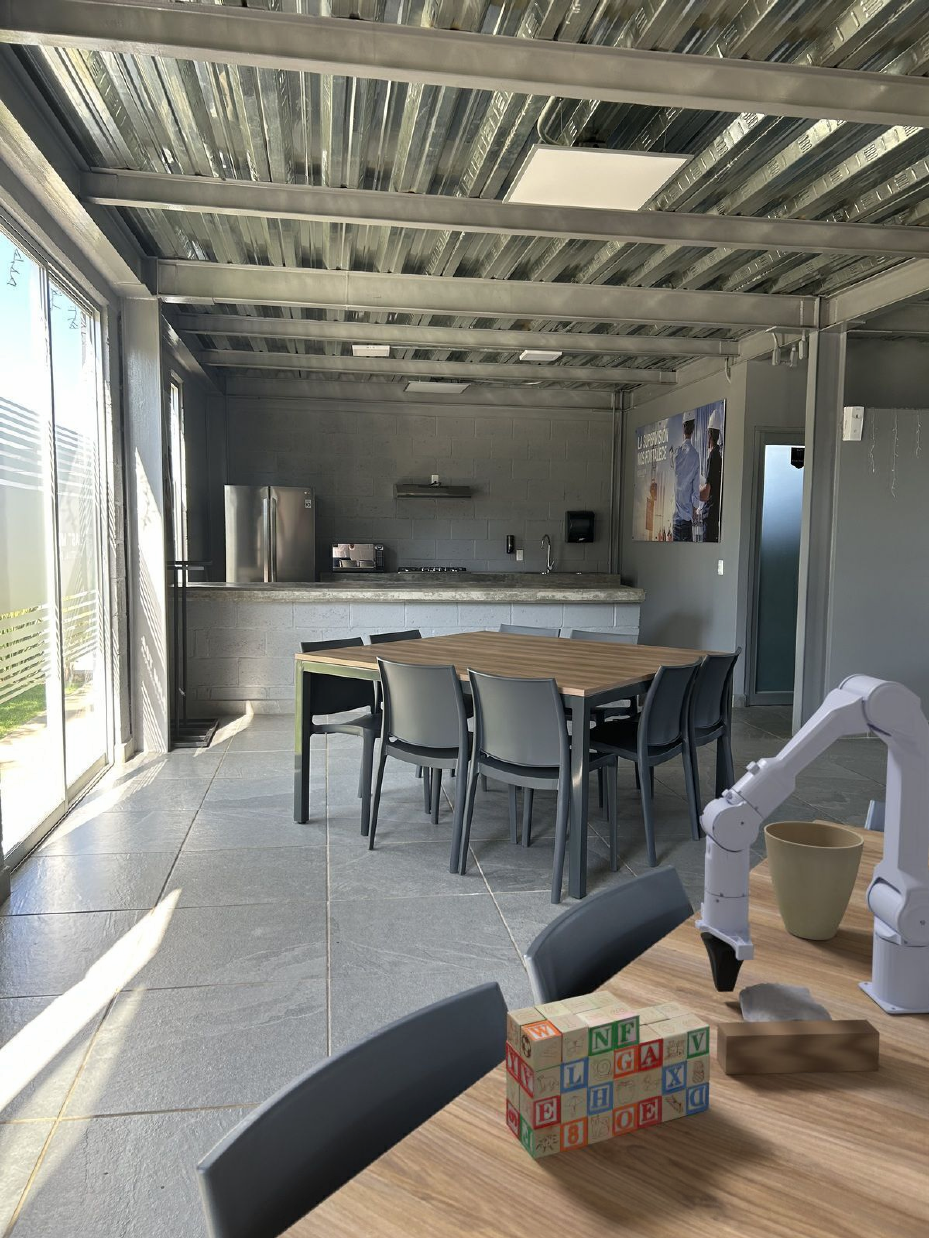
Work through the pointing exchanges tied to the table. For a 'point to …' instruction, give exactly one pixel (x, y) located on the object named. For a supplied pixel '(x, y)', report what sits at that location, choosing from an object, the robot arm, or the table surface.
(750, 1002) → the stone block
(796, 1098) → the table surface
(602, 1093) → the stack of blocks
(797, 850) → the plant pot
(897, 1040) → the table surface
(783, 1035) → the board
